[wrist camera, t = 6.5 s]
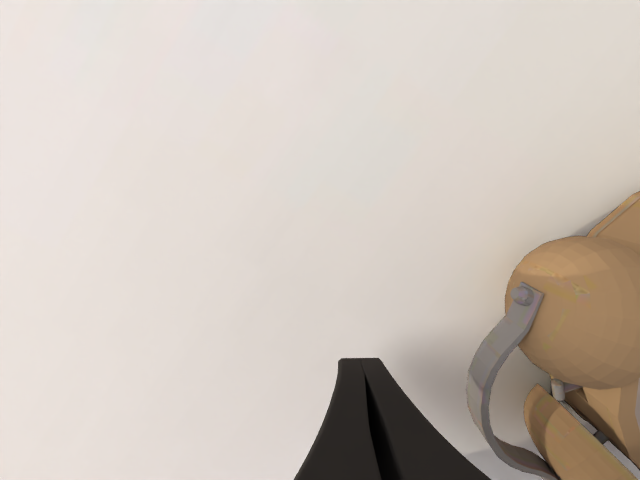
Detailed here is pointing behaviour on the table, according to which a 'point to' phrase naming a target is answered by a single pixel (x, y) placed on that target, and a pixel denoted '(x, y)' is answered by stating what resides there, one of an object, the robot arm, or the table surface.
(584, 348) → the alarm clock
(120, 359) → the table surface
